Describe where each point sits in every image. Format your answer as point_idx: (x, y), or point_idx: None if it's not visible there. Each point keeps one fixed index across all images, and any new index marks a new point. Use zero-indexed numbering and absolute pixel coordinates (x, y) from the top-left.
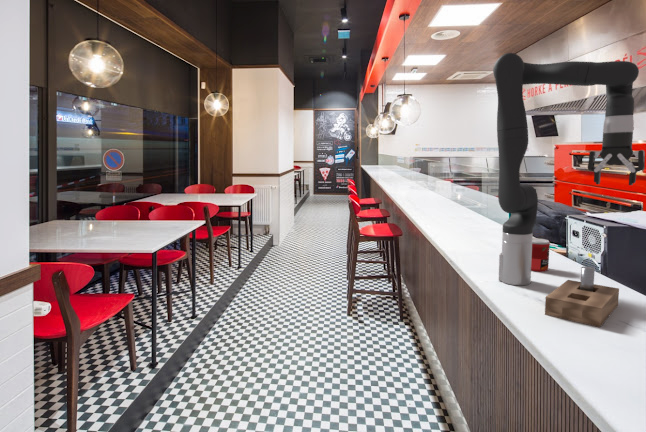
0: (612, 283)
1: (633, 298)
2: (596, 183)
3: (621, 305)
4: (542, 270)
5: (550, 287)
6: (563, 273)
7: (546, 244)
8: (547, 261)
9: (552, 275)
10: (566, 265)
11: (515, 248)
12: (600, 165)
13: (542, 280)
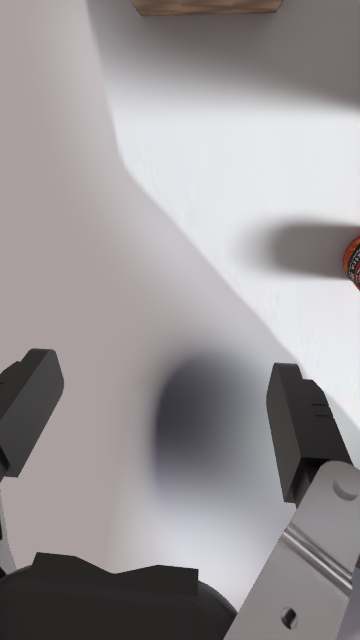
0: (192, 233)
1: (128, 127)
2: (291, 364)
3: (134, 25)
4: (357, 238)
5: (328, 77)
6: (302, 254)
7: None
8: (354, 261)
9: (328, 218)
10: (301, 325)
11: None
12: (318, 557)
13: (354, 145)
